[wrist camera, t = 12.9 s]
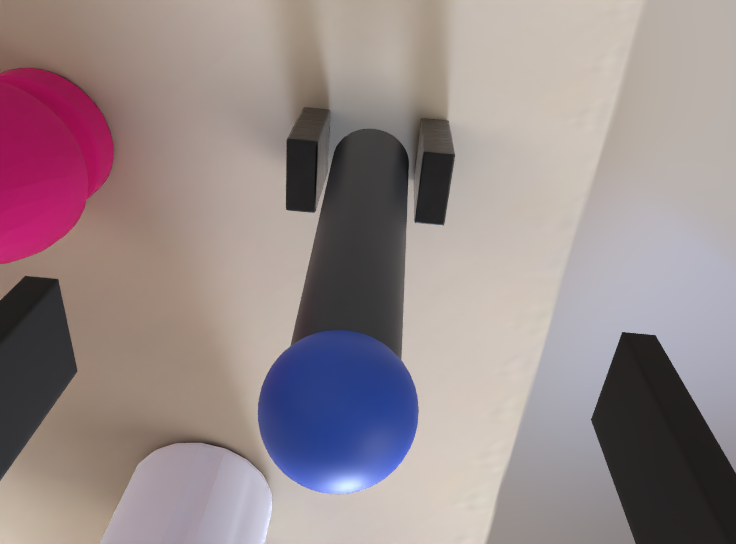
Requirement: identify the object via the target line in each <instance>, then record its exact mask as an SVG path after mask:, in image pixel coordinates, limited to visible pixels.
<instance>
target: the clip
mask: <svg viewBox="0 0 736 544" xmlns="http://www.w3.org/2000/svg"><path fill="white" fill-rule="evenodd" d="M329 130H330V110H327V109H316V108H303V110H302V112H301V114H300V116H299V118H298V120H297V122H296V123H295V125H294V127H293V129H292V131H291V133H290V135H289V137H288V139H287V161H286V209H287V210H291V211H301V212H312V213H314V212H315V211H316V208H317V205H318V201H319V198H320V195H321V192H322V189H323V185H324V182H325V179H326V176H327V172H328V151H329ZM454 158H455V153H454V148H453V142H452V137H451V132H450V126H449V121H446V120H435V119H424V118H422V119H421V127H420V135H419V143H418V151H417V159H416V167H415V175H414V221H415V223H424V224H434V225H444V222H445V216H446V210H447V203H448V197H449V190H450V184H451V178H452V171H453V165H454Z"/></svg>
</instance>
